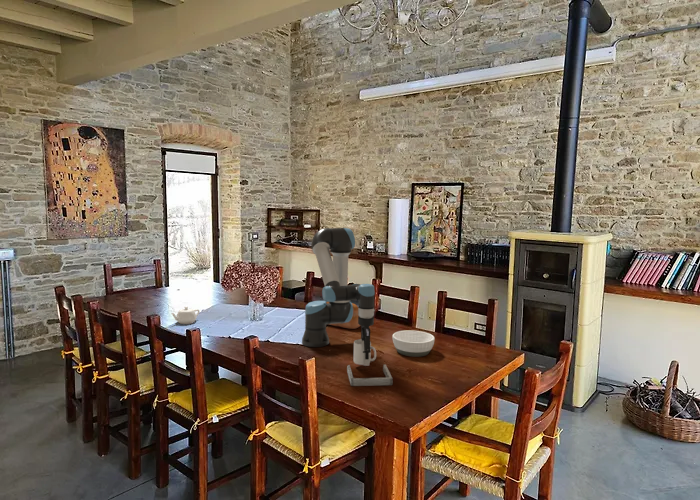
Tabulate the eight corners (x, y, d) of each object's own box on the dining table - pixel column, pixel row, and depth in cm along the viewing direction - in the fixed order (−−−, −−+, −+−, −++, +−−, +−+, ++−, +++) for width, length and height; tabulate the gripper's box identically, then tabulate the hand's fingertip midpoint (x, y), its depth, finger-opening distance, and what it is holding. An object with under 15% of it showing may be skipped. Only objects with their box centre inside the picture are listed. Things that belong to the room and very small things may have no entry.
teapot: (176, 327, 283) (176, 311, 282) (166, 323, 291) (165, 308, 290) (204, 321, 299) (204, 305, 298) (193, 317, 306) (193, 302, 305)
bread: (353, 330, 284) (353, 306, 282) (318, 324, 297) (318, 301, 296) (363, 325, 295) (364, 302, 294) (329, 319, 309) (330, 297, 307)
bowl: (407, 361, 232) (408, 345, 231) (384, 347, 252) (384, 333, 251) (442, 354, 243) (443, 339, 242) (417, 342, 262) (418, 328, 261)
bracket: (350, 386, 200) (350, 379, 200) (347, 371, 217) (347, 365, 216) (392, 385, 202) (392, 378, 201) (385, 370, 219) (385, 364, 218)
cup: (359, 357, 229) (359, 338, 228) (380, 363, 222) (380, 342, 221) (350, 362, 222) (350, 342, 221) (371, 368, 215) (372, 347, 214)
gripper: (377, 322, 210) (376, 369, 213) (370, 310, 231) (369, 354, 234) (361, 322, 209) (360, 370, 212) (355, 310, 231) (354, 354, 233)
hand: (365, 361), depth 223 cm, fingers closed on cup, 9 cm apart
